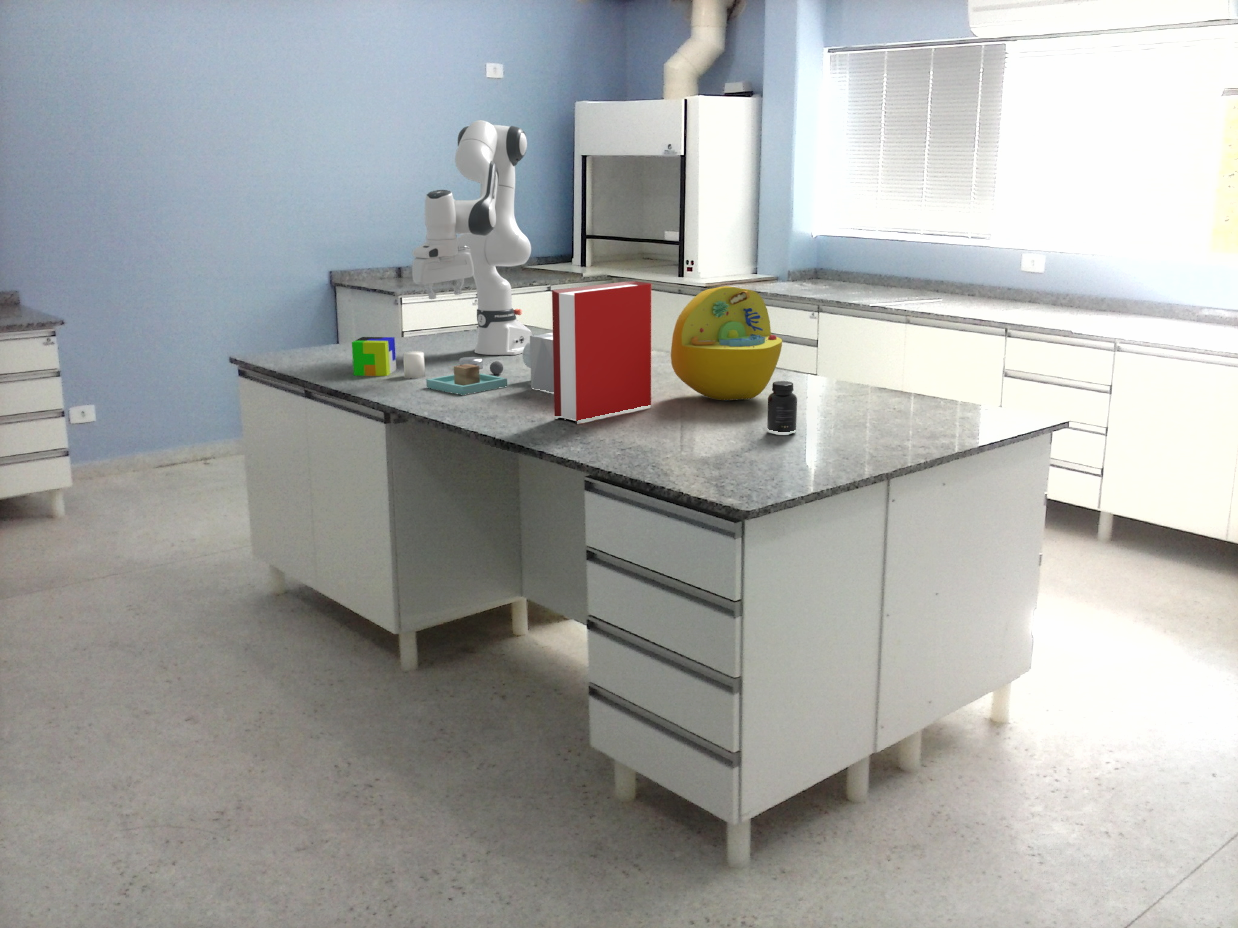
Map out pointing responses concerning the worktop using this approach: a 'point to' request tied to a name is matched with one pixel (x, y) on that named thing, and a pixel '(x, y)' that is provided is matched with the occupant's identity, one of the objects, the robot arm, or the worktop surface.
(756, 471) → the worktop surface
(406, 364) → the ceramic jar
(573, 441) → the worktop surface
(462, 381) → the walnut block
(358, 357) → the puzzle toy
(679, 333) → the educational model
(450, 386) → the tray
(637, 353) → the book
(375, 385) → the worktop surface
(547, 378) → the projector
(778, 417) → the supplement bottle
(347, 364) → the worktop surface
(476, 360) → the grey metal dome
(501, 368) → the rubber ball
